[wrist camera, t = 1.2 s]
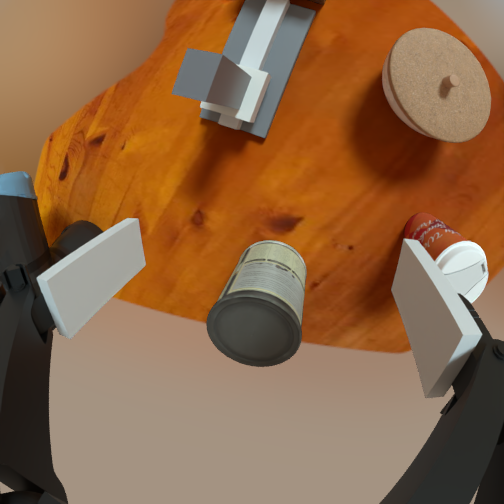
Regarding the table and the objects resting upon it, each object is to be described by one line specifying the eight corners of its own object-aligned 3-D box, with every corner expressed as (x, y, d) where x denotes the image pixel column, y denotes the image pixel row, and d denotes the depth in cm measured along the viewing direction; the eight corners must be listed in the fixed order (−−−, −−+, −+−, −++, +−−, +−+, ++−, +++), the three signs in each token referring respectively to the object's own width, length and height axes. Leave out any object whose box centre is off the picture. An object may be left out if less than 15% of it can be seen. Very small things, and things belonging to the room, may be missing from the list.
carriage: (211, 109, 31) (152, 102, 19) (227, 66, 28) (175, 35, 16) (256, 123, 31) (219, 119, 18) (273, 79, 28) (246, 47, 16)
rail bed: (202, 117, 33) (193, 116, 31) (249, -2, 24) (244, -11, 22) (266, 137, 33) (262, 138, 30) (315, 14, 24) (315, 5, 21)
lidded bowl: (387, 145, 30) (418, 153, 20) (357, 53, 26) (374, 24, 16) (465, 132, 26) (511, 139, 16) (438, 45, 22) (476, 24, 12)
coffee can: (309, 299, 42) (303, 368, 29) (244, 300, 44) (218, 364, 32) (304, 236, 38) (297, 293, 25) (232, 241, 40) (195, 295, 28)
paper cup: (431, 194, 31) (483, 231, 18) (450, 239, 33) (496, 289, 20) (387, 223, 34) (420, 274, 22) (409, 265, 36) (441, 326, 23)
